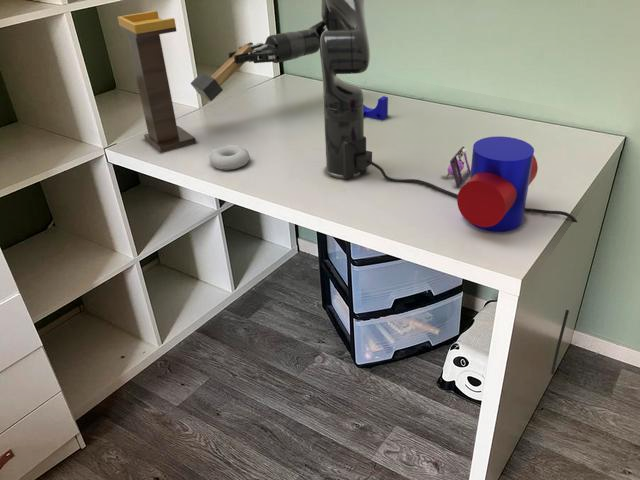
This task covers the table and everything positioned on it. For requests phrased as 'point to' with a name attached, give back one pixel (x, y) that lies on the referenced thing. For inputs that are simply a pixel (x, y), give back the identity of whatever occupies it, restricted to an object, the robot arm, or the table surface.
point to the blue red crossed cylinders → (498, 183)
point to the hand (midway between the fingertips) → (232, 58)
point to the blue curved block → (378, 109)
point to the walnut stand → (156, 91)
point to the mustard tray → (145, 22)
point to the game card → (458, 167)
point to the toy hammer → (218, 76)
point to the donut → (229, 157)
